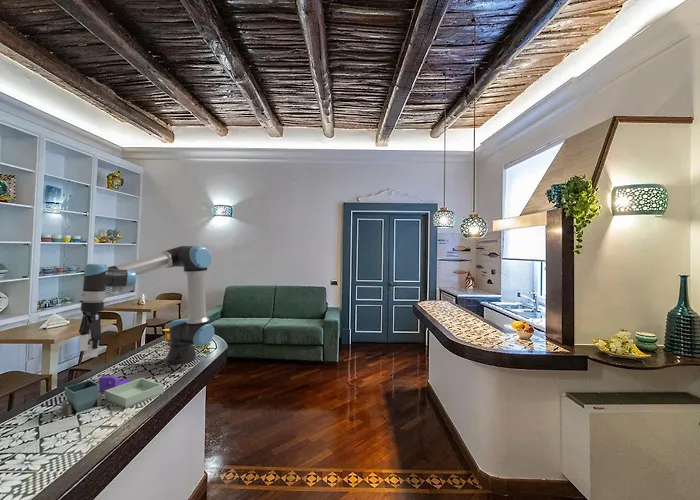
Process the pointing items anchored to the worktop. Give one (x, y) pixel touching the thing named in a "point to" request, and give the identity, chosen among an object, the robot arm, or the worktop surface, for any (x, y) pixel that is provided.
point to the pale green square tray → (133, 392)
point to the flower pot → (82, 395)
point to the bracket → (110, 382)
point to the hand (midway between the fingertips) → (87, 353)
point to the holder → (67, 407)
